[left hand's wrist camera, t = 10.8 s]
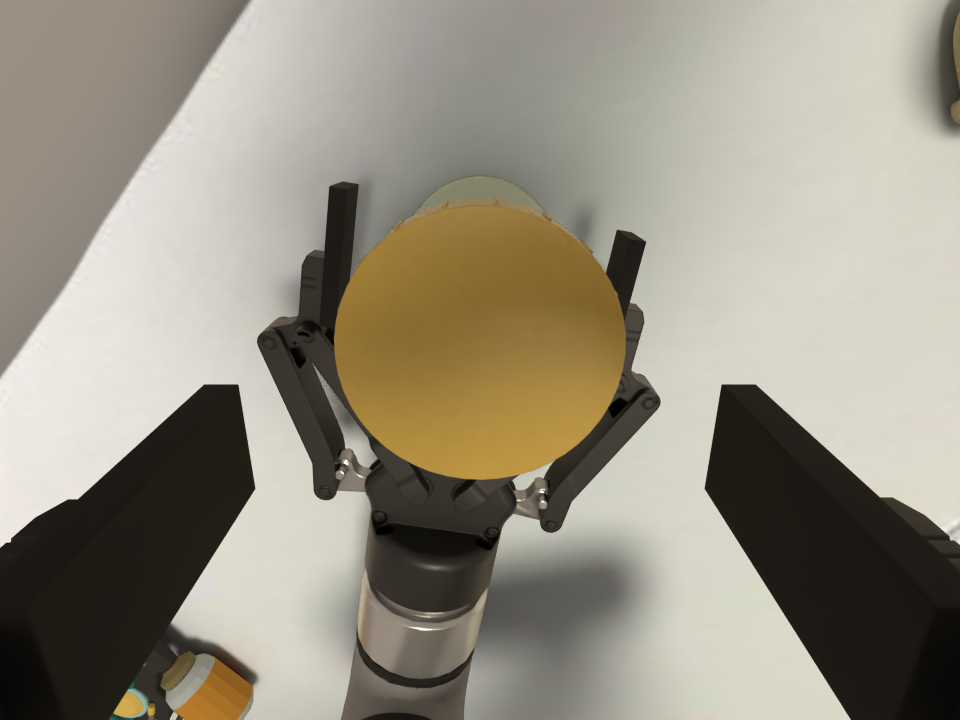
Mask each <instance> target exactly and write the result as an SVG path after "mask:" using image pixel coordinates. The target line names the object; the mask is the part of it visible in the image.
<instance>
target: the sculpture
mask: <svg viewBox="0 0 960 720" xmlns="http://www.w3.org/2000/svg"><path fill="white" fill-rule="evenodd" d="M953 51H954V61H955V68H956V72H957V76H958V82H959V88H960V12H959V14H958V17H957V20H956V23H955V28H954V33H953ZM951 116H952V118H953V121H954V122H956V123H957V124H960V99H959V100H957V101H955V102H954V103H953V104H952V106H951Z"/></svg>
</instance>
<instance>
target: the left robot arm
mask: <svg viewBox="0 0 960 720" xmlns="http://www.w3.org/2000/svg"><path fill="white" fill-rule="evenodd" d="M254 490H255V484H254V478H253V471H252V465H251V459H250V453H249V447H248V441H247V435H246V429H245V423H244V416H243V410H242V404H241V398H240V392H239V386H238V385H203V386H202V387H201V388H200V389H199V390H198V391H197V392H196V393H195V394H193V395H192V396H191V397H190V398H189V399H188V400H187V401H186V402H185V403H184V404H182V405H181V406H180V407H179V408H178V409H177V410H176V411H175V412H174V413H173V414H171V415H170V416H169V417H168V418H167V419H166V420H165V421H164V422H163V423H162V424H160V425H159V426H158V427H157V428H156V429H155V430H154V431H153V432H152V433H150V434H149V435H148V436H147V437H146V438H145V439H144V440H143V441H142V442H141V443H139V444H138V445H137V446H136V447H135V448H134V449H133V450H132V451H131V452H130V453H128V454H127V455H126V456H125V457H124V458H123V459H122V460H121V461H120V462H119V463H117V464H116V465H115V466H114V467H113V468H112V469H111V470H110V471H109V472H108V473H106V474H105V475H104V476H103V477H102V478H101V479H100V480H99V481H98V482H97V483H95V484H94V485H93V486H92V487H91V488H90V489H89V490H88V491H87V492H86V493H84V494H83V495H82V496H81V497H80V498H79V499H68V500H66V501H65V502H63V503H61V504H59V505H57V506H55V507H54V508H52V509H50V510H48V511H46V512H45V513H43V514H41V515H39V516H37V517H36V518H34V519H33V520H32V521H31V522H30V523H29V524H27V525H26V526H25V527H24V528H23V529H22V530H21V531H19V532H18V533H17V534H16V535H15V536H14V537H12V538H11V542H10V543H5V544H4V545H3V546H2V547H1V548H0V720H109V719H110V717H111V716H112V714H113V713H114V711H115V709H116V708H117V706H118V705H119V703H120V702H121V700H122V698H123V697H124V695H125V694H126V692H127V690H128V689H129V687H130V686H131V684H132V683H133V681H134V679H135V678H136V676H137V675H138V673H139V672H140V670H141V668H142V667H143V665H144V664H145V662H146V661H147V659H148V657H149V656H150V654H151V653H152V651H153V649H154V648H155V646H156V645H157V643H158V642H159V640H160V638H161V637H162V635H163V634H164V632H165V631H166V629H167V627H168V626H169V624H170V623H171V621H172V619H173V618H174V616H175V615H176V613H177V612H178V610H179V608H180V607H181V605H182V604H183V602H184V601H185V599H186V597H187V596H188V594H189V593H190V591H191V589H192V588H193V586H194V585H195V583H196V582H197V580H198V578H199V577H200V575H201V574H202V572H203V571H204V569H205V567H206V566H207V564H208V563H209V561H210V559H211V558H212V556H213V555H214V553H215V552H216V550H217V548H218V547H219V545H220V544H221V542H222V541H223V539H224V537H225V536H226V534H227V533H228V531H229V529H230V528H231V526H232V525H233V523H234V522H235V520H236V518H237V517H238V515H239V514H240V512H241V511H242V509H243V507H244V506H245V504H246V503H247V501H248V500H249V498H250V496H251V495H252V493H253V492H254ZM705 490H706V492H707V493H708V495H709V496H710V498H711V500H712V501H713V503H714V504H715V506H716V507H717V509H718V511H719V512H720V514H721V515H722V517H723V518H724V520H725V522H726V523H727V525H728V526H729V528H730V529H731V531H732V533H733V534H734V536H735V537H736V539H737V541H738V542H739V544H740V545H741V547H742V548H743V550H744V552H745V553H746V555H747V556H748V558H749V559H750V561H751V563H752V564H753V566H754V567H755V569H756V571H757V572H758V574H759V575H760V577H761V578H762V580H763V582H764V583H765V585H766V586H767V588H768V589H769V591H770V593H771V594H772V596H773V597H774V599H775V601H776V602H777V604H778V605H779V607H780V608H781V610H782V612H783V613H784V615H785V616H786V618H787V619H788V621H789V623H790V624H791V626H792V627H793V629H794V631H795V632H796V634H797V635H798V637H799V638H800V640H801V642H802V643H803V645H804V646H805V648H806V649H807V651H808V653H809V654H810V656H811V657H812V659H813V661H814V662H815V664H816V665H817V667H818V668H819V670H820V672H821V673H822V675H823V676H824V678H825V679H826V681H827V683H828V684H829V686H830V687H831V689H832V690H833V692H834V694H835V695H836V697H837V698H838V700H839V702H840V703H841V705H842V706H843V708H844V709H845V711H846V713H847V714H848V716H849V717H850V719H851V720H960V545H959V544H958V543H957V542H955V541H951V540H950V538H949V537H950V536H948V535H947V534H946V533H945V532H944V531H943V530H941V529H940V528H939V527H938V526H937V525H936V524H934V523H933V522H932V521H931V520H930V519H929V518H927V517H926V516H925V515H923V514H922V513H920V512H918V511H916V510H914V509H912V508H911V507H909V506H907V505H905V504H903V503H902V502H900V501H898V500H896V499H894V498H880V497H879V496H878V495H877V494H876V493H874V492H873V491H872V490H871V489H870V488H869V487H868V486H867V485H866V484H865V483H863V482H862V481H861V480H860V479H859V478H858V477H857V476H856V475H855V474H854V473H852V472H851V471H850V470H849V469H848V468H847V467H846V466H845V465H844V464H843V463H841V462H840V461H839V460H838V459H837V458H836V457H835V456H834V455H833V454H832V453H830V452H829V451H828V450H827V449H826V448H825V447H824V446H823V445H822V444H821V443H819V442H818V441H817V440H816V439H815V438H814V437H813V436H812V435H811V434H810V433H808V432H807V431H806V430H805V429H804V428H803V427H802V426H801V425H800V424H798V423H797V422H796V421H795V420H794V419H793V418H792V417H791V416H790V415H789V414H787V413H786V412H785V411H784V410H783V409H782V408H781V407H780V406H779V405H778V404H776V403H775V402H774V401H773V400H772V399H771V398H770V397H769V396H768V395H767V394H765V393H764V392H763V391H762V390H761V389H760V388H759V387H758V386H757V385H722V386H721V392H720V398H719V404H718V410H717V416H716V422H715V429H714V435H713V441H712V447H711V453H710V459H709V465H708V471H707V478H706V484H705Z"/></svg>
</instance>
